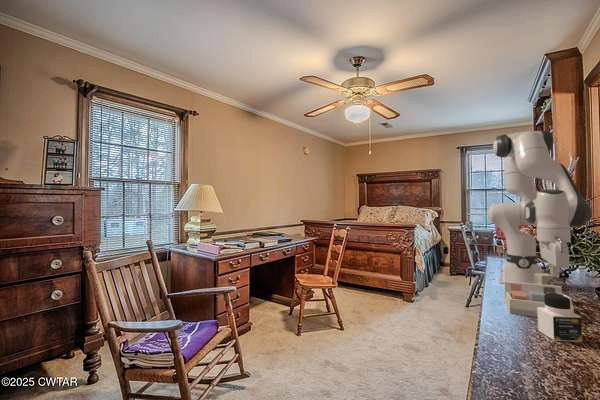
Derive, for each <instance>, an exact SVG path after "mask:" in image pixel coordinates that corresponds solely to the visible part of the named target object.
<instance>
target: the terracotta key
mask: <svg viewBox="0 0 600 400" xmlns="http://www.w3.org/2000/svg"><path fill="white" fill-rule="evenodd" d="M512 298H513V299H518V300H527V301H528V299H527V295H526V294H525V293H521V292H512Z"/></svg>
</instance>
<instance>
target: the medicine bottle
mask: <svg viewBox="0 0 600 400" xmlns="http://www.w3.org/2000/svg"><path fill="white" fill-rule="evenodd" d="M572 299H573V298H572V297H571V296H569V295H567V294H563V293H562V294H559V293H547V294H545V295H544V301H545V307H538V308H537V313H538V317H537V331H538V332H539V333H542V334H543V335H545V336H546V337H548V338H549V339H551V340H552V341H554V342H577V343H582V342H583V330H582V328H583V325H582V316H581V315H579V314H576V313H575V312H574V313H572V312H571V311H572V305H573V300H572Z"/></svg>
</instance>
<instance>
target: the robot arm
mask: <svg viewBox="0 0 600 400" xmlns="http://www.w3.org/2000/svg"><path fill="white" fill-rule="evenodd" d="M554 143H555V139H554V136H553V132H551V131H550V130H541V129H540V130H529V131H528V130H527V131H518V132H513V133H509V134H508V133H507V134H506V133H504V134H500V135H499V136H496V138H495V139H494V141H493V145H492V149H493V152H494V154H495V156H496V157H499V158H505V160H504V172H503V174H504V189H505V190H506V192H507V193H509V194H511V195H514V196H516V197H518V198H520V200H521V201H519V202H518V201H517V202H516V201H514V202H513V201H512V202H511V201H510V202H509V201H508V202H507V201H506V202H499V203H494V204H491V205H490V206H489V208H488V210H487V217H488V220H489V221H490V222H491V223H492V224H494V225H495V226H497V227H498V228H499V229H500V230H501V231H502V233H503V235H504V237H505V241H506V251H507V252H506V253H505V254H506V255H505V259H506V260H505V261H506V263H504V265H502V267H501V268H500V272H501V276H500V278H499V279H498V283H500V284H504V285H505V283H504V281H508V282H520V283H531V284H535V274H534V273H543V268H542V267H541V266H540V265H539V264H538V263H539V261H538V260H539V258H538V255H537V241H538V244H539V253H540V257H541V259H543V260H544V261H545V262H547V263H548V267H549V271H550V272H549V273H550V274H549V275H551V276H553V277H554V278H560V272H561V268H562V269H568V268H570V252H569V246H568V245H567V243H571V241H572V240H571V228H572V227H573V228H581V227H583V226H584V225H586V224H587V223H589V222H590V221H591V219H592V217H593V216H592V215H593V214H592V209H591V206H590V205H589V203H588V202H587V200H585V198H584V197H583V196H582V194H581V192H580V190H579V189H578V187H577V185H576V183H575V182H574V180H573V178H572V176H571V174H570V173H569V171H568V169H567V167H566V166H565V165H564V164H562V163H560V162H558V161H556V159H554V158H553V157H552V155H550V152H551V150H552V149H553V146H554ZM534 178H535V179H540V180H544V181H547V182H549V183H550V182H551V183H553V184H554V185H555V186H556V187H557V189H553V188H552V189H551V188H550V189H541V190H539V191H538V192H537V190H536V187H535V180H534ZM519 226H536V238H535V237H534V236H533V235H531V234H529V233H527V232H524V231H522V230H520V228H519ZM536 240H537V241H536Z"/></svg>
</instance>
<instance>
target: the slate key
mask: <svg viewBox="0 0 600 400" xmlns="http://www.w3.org/2000/svg"><path fill="white" fill-rule="evenodd" d="M544 295H545V294H544V293H543V292H540V291H530V290H529V298H530V299H531V301H536V302H545V301H544Z"/></svg>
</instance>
